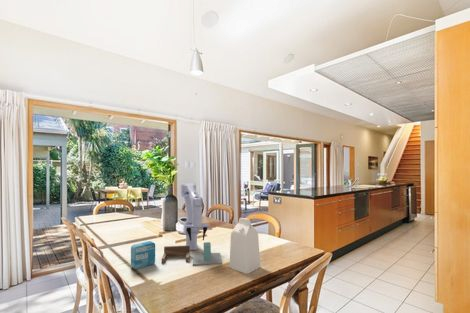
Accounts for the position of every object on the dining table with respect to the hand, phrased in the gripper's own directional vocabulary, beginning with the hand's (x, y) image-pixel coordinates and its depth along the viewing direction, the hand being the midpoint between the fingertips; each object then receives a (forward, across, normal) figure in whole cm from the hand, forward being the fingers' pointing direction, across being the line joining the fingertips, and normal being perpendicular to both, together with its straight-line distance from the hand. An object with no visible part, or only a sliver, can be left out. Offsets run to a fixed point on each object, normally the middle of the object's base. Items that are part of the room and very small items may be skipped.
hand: (197, 240), depth 151 cm
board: (+9, +6, -7) cm, 13 cm away
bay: (+9, -12, -4) cm, 16 cm away
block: (+9, +6, -7) cm, 12 cm away
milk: (+10, +26, -21) cm, 35 cm away
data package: (+10, -29, -11) cm, 32 cm away
